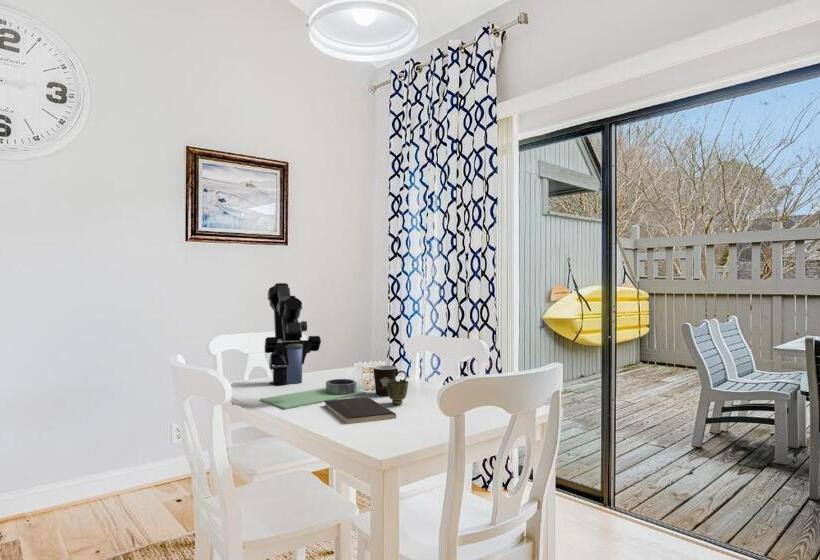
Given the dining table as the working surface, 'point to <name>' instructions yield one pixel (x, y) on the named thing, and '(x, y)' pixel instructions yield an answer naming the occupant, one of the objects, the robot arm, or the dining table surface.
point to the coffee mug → (384, 378)
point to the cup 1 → (341, 386)
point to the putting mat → (305, 398)
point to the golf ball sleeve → (294, 363)
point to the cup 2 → (397, 390)
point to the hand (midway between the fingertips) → (295, 364)
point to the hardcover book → (359, 410)
